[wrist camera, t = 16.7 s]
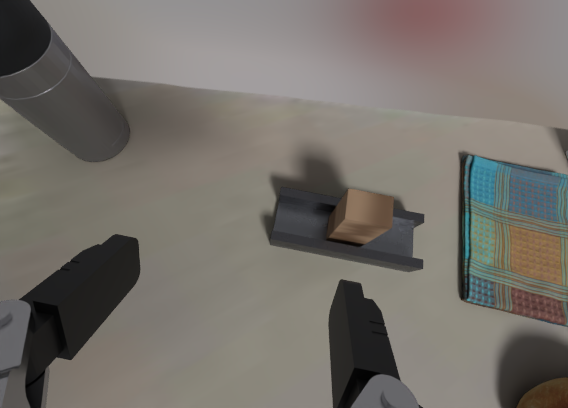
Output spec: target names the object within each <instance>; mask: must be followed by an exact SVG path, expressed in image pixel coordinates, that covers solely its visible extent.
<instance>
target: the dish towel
mask: <svg viewBox="0 0 568 408" xmlns="http://www.w3.org/2000/svg"><path fill="white" fill-rule="evenodd" d="M461 169H462V197H463V212H462V219H463V220H462V238H463V258H462V275H463V283H462V287H463V298H461V300H462V301H464V302H467V303H471V304H475V305H479V306H483V307H488V308H492V309H497V310H501V311H505V312H509V313H512V314H517V315H520V316H524V317H528V318H532V319H537V320H540V321H544V322H548V323H552V324H557V325H562V326H567V327H568V175H565V174H560V173H554V172H548V171H542V170H537V169H533V168H528V167H523V166H519V165H513V164H507V163H502V162H498V161H493V160H488V159H484V158H481V157H478V156H476V155H475V156H470V155H468V156H463V157H462V162H461Z"/></svg>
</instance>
